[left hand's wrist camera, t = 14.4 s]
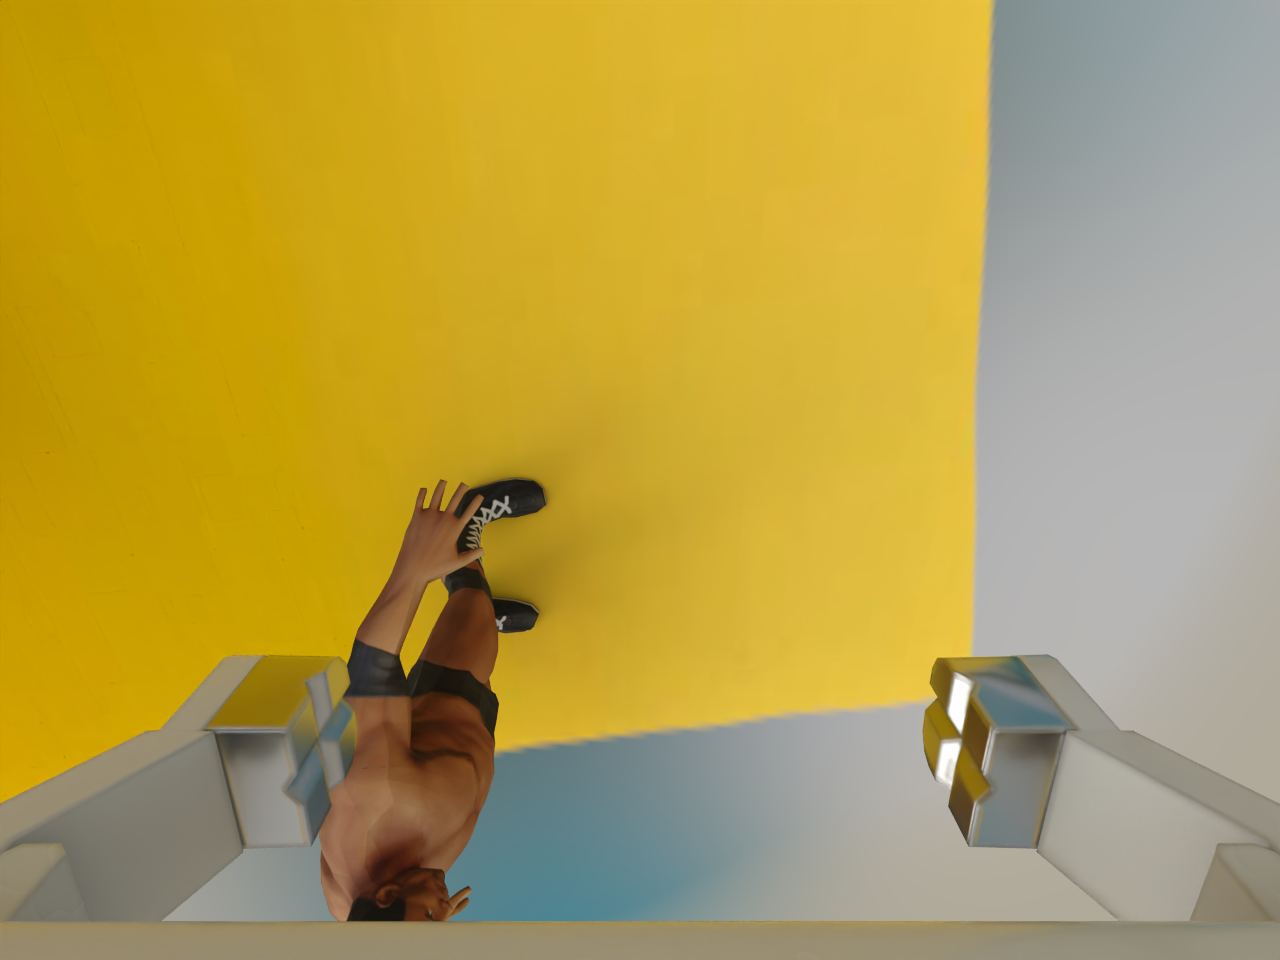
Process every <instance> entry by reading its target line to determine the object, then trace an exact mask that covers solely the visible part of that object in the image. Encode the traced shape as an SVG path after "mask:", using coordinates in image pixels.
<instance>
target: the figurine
mask: <svg viewBox="0 0 1280 960" xmlns="http://www.w3.org/2000/svg"><path fill="white" fill-rule="evenodd" d="M446 484H447V481H444V480H441V479H440V481H439V483H438V485H437V487H436V489H435V491H434V494H433V496H432V499H431V502H430V506H429V508H425V509H423V503H424V499H425V496H426V492H427V488H420V491H419V494H418V497H417V501H416V505H415V510H414V513H413V516H412V519H411V522H410V524H409V526H408V528H407V530H406V533H405V536H404V540H403V543H402V547H401V550H400V552H399V555H398V558H397V560H396V563H395V566H394V569H393V571H392V574H391V576H390V578H389V580H388V582H387V583H386V585H385V587H384V588H383V590H382V592H381V594H380V595H379V597H378V599H377V600H376V602H375V603H374V605H373V606H372V608H371V609H370V611H369V613H368V614H367V616H366V617H365V619H364V621H363V622H362V624H361V625H360V627H359V628H358V631H357V634H356V637H355V640H354V644H353V648H352V652H351V656H350V659H349V661H348V664H347V669H348V674H349V679H350V685H349V686H348V688H347V690H346V692H345V693H344V695H343V697H342V698H343V699H344V700H345V701H346V702H347V703H348V704H349V705H350V706H351V707H352V708H353V709H354V710H355V715H356V722H357V744H356V749H355V753H354V758H353V763H352V765H351V768H350V770H349V772H348V774H347V776H346V778H345V780H344V781H343V782H342V783H340V784H339V785H337V786H336V787H335V788H333V789H332V790H330V791H329V794H330V799H331V805H332V807H331V809H330V811H329V813H328V815H327V817H326V818H325V820H324V822H323V824H322V826H321V828H320V830H319V838H320V843H321V847H322V850H321V860H320V862H321V884H322V888H323V892H324V895H325V898H326V901H327V905H328V908H329V911H330V913H331V914H332V916H333V917H335V919H336V920H337V921H447V920H448V919H449V918H451V917H452V916H453V915H455V914H457V913H459V912H460V911H461V910H462V909H463V908H465V907H466V906H467V904H468V903H469V899H468V898H465V899H463V898H464V897H466V896H467V895H468V894H470V892H471V890H472V889H471V888H470V887H469V886H467V887H465V888H464V889H462V890H460V891H459V892H458V893H456V894H455V895H454V896H452V897H451V898H450V899H449V895H448V890H447V887H446V885H445V883H444V880H445V873H446V872H447V871H448V870H449V868H450V867H451V866H452V864H453V863H454V862H455V861H456V859H457V858H458V857H459V855H460V854H461V853H462V851H463V850H464V848H465V847H466V845H467V843H468V842H469V840H470V838H471V835H472V833H473V830H474V828H475V825H476V822H477V819H478V815H479V813H480V811H481V809H482V807H483V805H484V803H485V800H486V798H487V795H488V792H489V790H490V786H491V783H492V779H493V775H494V748H495V738H494V730H495V725H496V720H497V713H498V707H499V703H498V700H497V697H496V694H495V693H493V692H492V691H491V686H490V681H489V677H490V675H491V673H492V671H493V669H494V665H495V661H496V657H497V653H498V632H502V633H512V632H523V631H526V630H531V629H532V628H533V627H534V625H535V622H536V619H537V617H538V614H539V611H538V610H537V609H536V608H535V607H534V606H533V605H532V604H530V603H526V602H523V601H519V600H516V599H506V598H496V597H492V594H491V591H490V588H489V585H488V583H487V580H486V578H485V574H484V570H483V566H482V560H481V556H483V555H484V552H483V548H482V547H480V537H481V533H482V529H483V526H484V525H485V524H487V523H488V522H491V521H494V520H497V519H500V518H505V517H519V516H523V515H527V514H531V513H535V512H538V511H539V510H540V509H541V508H543V507H544V506H545V505H546V503H547V502H546V497H545V493H544V489H543V487H542V486H540V485H539V484H538V483H536V482H535V481H533V480H527V479H520V478H512V479H505V480H499V481H496V482H492V483H489V484H485V485H482V486H478V487H475V488H472V489H469V490H468V491H467V492H466V490H467V488H468V487H469V486H467V485H466V484H464V483H462V482H461V484H460V485H459V487H458V488H457V490H456V492H455V493H454V495H453V496H452V498H451V500H450V502H449V504H448V506H447V508H446V510H445V512H444V511H439V509H440V505H441V501H442V497H443V493H444V489H445V486H446ZM465 492H466V493H465ZM439 578H441V581H442V582H443V584H444V586H445V587H446V589H447V590H448V592H449V600H448V602H447V604H446V605H445V607H444V609H443V611H442V612H441V614H440V616H439V618H438V620H437V622H436V624H435V625H434V627H433V629H432V632H431V634H430V636H429V638H428V640H427V643H426V645H425V647H424V649H423V651H422V653H421V655H420V656H419V658H418V660H417V662H416V664H415V665H414V666H413V667H412V668H411V670H410V672H409V674H408V677H407V679H406V676H405V673H404V670H403V668H402V664H401V661H400V651H401V649H402V646H403V643H404V640H405V638H406V635H407V633H408V631H409V628H410V626H411V623H412V621H413V619H414V616H415V614H416V611H417V609H418V606H419V604H420V601H421V599H422V596H423V594H424V591H425V589H426V587H427V585H428V583H430V582H432V581H434V580H437V579H439ZM462 899H463V900H462ZM461 900H462V901H461ZM459 901H460V902H459Z"/></svg>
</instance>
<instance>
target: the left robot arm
mask: <svg viewBox="0 0 1280 960" xmlns="http://www.w3.org/2000/svg"><path fill="white" fill-rule="evenodd" d="M349 685H350V679H349V674H348V669H347V665H346V662H345V661H344V660H343V659H342V658H341V657H330V656H283V655H269V656H266V655H233V656H229V657H226V658H224V659H223V660H222V661H221V662H220V663H219V664H218V665H217V666H216V667H215V669H214V670H213V671H212V672H211V673H210V674H209V675H208V676H207V678H206V679H205V680H204V681H203V682H202V683H201V684H200V685H199V687H198V688H197V689H196V690H195V691H194V692H193V693H192V694H191V696H190V697H189V698H188V699H187V700H186V701H185V702H184V703H183V704H182V706H181V707H180V708H179V709H178V710H177V711H176V712H175V713H174V715H173V716H172V717H171V718H170V719H169V720H168V721H167V722H166V724H165V725H164V726H163V727H162V728H161V729H160V730H159V731H146V732H144V733H142V734H140V735H138V736H136V737H134V738H132V739H130V740H127V741H125V742H123V743H121V744H119V745H117V746H115V747H113V748H111V749H109V750H107V751H105V752H103V753H101V754H99V755H97V756H95V757H93V758H91V759H89V760H87V761H85V762H83V763H81V764H79V765H77V766H75V767H73V768H71V769H69V770H67V771H65V772H63V773H61V774H59V775H57V776H55V777H53V778H51V779H49V780H47V781H45V782H43V783H41V784H39V785H37V786H35V787H33V788H31V789H29V790H27V791H25V792H23V793H21V794H19V795H17V796H15V797H13V798H11V799H9V800H7V801H5V802H3V803H1V804H0V960H1280V804H1279V803H1277V802H1275V801H1273V800H1271V799H1269V798H1267V797H1265V796H1263V795H1261V794H1259V793H1257V792H1255V791H1253V790H1251V789H1249V788H1247V787H1245V786H1243V785H1241V784H1239V783H1237V782H1235V781H1233V780H1231V779H1229V778H1227V777H1225V776H1223V775H1221V774H1219V773H1217V772H1215V771H1213V770H1211V769H1209V768H1207V767H1205V766H1203V765H1200V764H1199V763H1197V762H1195V761H1193V760H1191V759H1189V758H1187V757H1185V756H1182V755H1180V754H1178V753H1176V752H1175V751H1173V750H1170V749H1168V748H1166V747H1164V746H1162V745H1160V744H1158V743H1156V742H1154V741H1152V740H1150V739H1148V738H1146V737H1144V736H1142V735H1140V734H1138V733H1136V732H1134V731H1121V730H1120V729H1119V728H1118V727H1117V726H1116V725H1115V724H1114V722H1113V721H1112V720H1111V719H1110V718H1109V717H1108V716H1107V715H1106V714H1105V712H1104V711H1103V710H1102V709H1101V708H1100V707H1099V706H1098V704H1097V703H1096V702H1095V701H1094V700H1093V699H1092V698H1091V697H1090V696H1089V694H1088V693H1087V692H1086V691H1085V690H1084V689H1083V688H1082V687H1081V685H1080V684H1079V683H1078V682H1077V681H1076V680H1075V679H1074V678H1073V676H1072V675H1071V674H1070V673H1069V672H1068V671H1067V670H1066V669H1065V668H1064V666H1063V665H1062V664H1061V663H1060V662H1059V661H1058V660H1057V659H1056V658H1054V657H1052V656H1050V655H1020V656H1010V657H950V658H937V659H936V661H935V663H934V666H933V668H932V673H931V679H930V685H931V686H932V688H933V690H934V692H935V693H936V695H937V697H938V698H937V699H936V700H935V701H934V702H933V703H932V704H931V705H930V706H929V707H928V708H927V709H926V710H925V716H924V724H923V741H924V751H925V755H926V758H927V762H928V765H929V768H930V770H931V772H932V774H933V776H934V778H935V780H936V781H937V782H938V783H940V784H941V785H943V786H944V787H945V788H947V789H948V790H950V791H951V794H950V799H949V805H948V806H949V809H950V810H951V813H952V815H953V816H954V818H955V820H956V822H957V824H958V826H959V828H960V830H961V832H962V834H963V836H964V838H965V840H966V842H967V844H968V846H969V847H996V848H1032V849H1037V853H1039V854H1040V855H1041V856H1042V857H1043V858H1044V859H1046V860H1047V861H1048V862H1049V863H1051V864H1052V865H1053V866H1054V867H1055V868H1056V869H1058V870H1059V871H1060V872H1061V873H1062V874H1064V875H1065V876H1066V877H1067V878H1068V879H1070V880H1071V881H1072V882H1073V883H1074V884H1075V885H1077V886H1078V887H1079V888H1080V889H1082V890H1083V891H1084V892H1085V893H1086V894H1087V895H1089V896H1090V897H1091V898H1092V899H1093V900H1095V901H1096V902H1097V903H1098V904H1099V905H1101V906H1102V907H1103V908H1104V909H1105V910H1107V911H1108V912H1109V913H1110V914H1111V915H1113V916H1114V917H1115V918H1116V919H1117V920H1118V921H565V922H563V921H557V922H555V921H535V922H534V921H528V922H527V921H162V920H163V919H164V918H165V917H167V916H168V915H169V914H170V913H171V912H172V911H174V910H175V909H176V908H177V907H178V906H180V905H181V904H182V903H183V902H184V901H186V900H187V899H188V898H189V897H190V896H192V895H193V894H194V893H195V892H196V891H198V890H199V889H200V888H201V887H202V886H204V885H205V884H206V883H207V882H208V881H210V880H211V879H212V878H213V877H214V876H216V875H217V874H218V873H219V872H220V871H222V870H223V869H224V868H225V867H226V866H228V865H229V864H230V863H231V862H232V861H233V860H235V859H236V858H237V857H238V856H239V855H241V854H242V853H243V849H247V848H282V847H311V846H312V844H313V842H314V840H315V838H316V836H317V834H318V832H319V830H320V828H321V826H322V824H323V822H324V820H325V818H326V817H327V815H328V813H329V811H330V809H331V807H332V805H331V799H330V794H329V791H330V790H332V789H333V788H335V787H336V786H337V785H339V784H340V783H342V782H343V781H344V780H345V778H346V776H347V774H348V772H349V770H350V768H351V765H352V763H353V758H354V753H355V749H356V744H357V722H356V715H355V710H354V709H353V708H352V707H351V706H350V705H349V704H348V703H347V702H346V701H345V700H344V699H343V698H342V697H343V695H344V693H345V692H346V690H347V688H348V686H349Z"/></svg>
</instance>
